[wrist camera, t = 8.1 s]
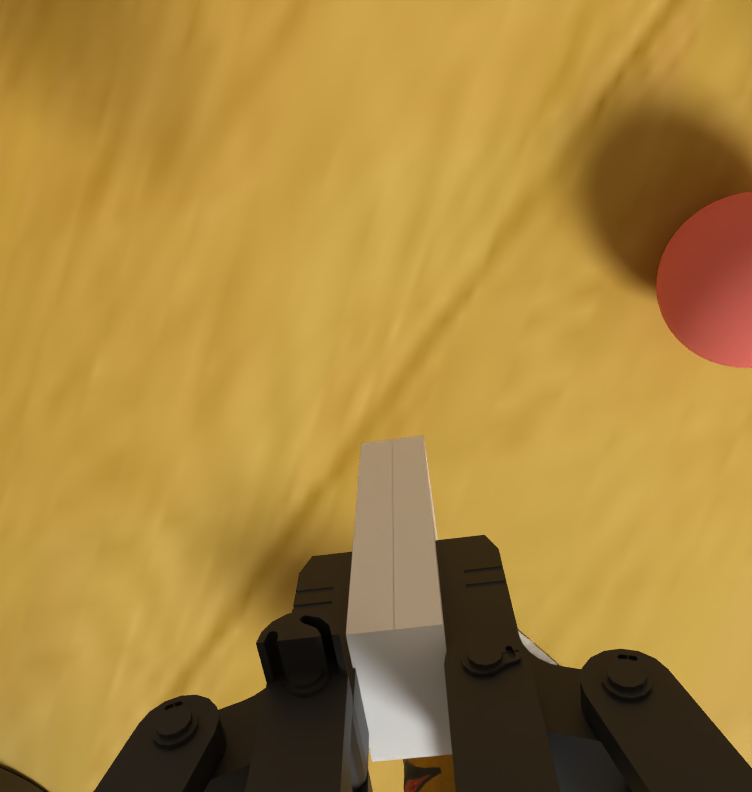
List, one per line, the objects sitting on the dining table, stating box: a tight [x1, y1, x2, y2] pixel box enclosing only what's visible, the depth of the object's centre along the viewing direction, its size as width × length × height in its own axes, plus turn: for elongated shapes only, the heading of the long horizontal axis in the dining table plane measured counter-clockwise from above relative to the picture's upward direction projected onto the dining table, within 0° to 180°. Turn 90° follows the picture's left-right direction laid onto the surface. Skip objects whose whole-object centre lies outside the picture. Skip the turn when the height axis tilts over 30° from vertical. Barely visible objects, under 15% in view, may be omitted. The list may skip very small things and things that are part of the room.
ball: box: [656, 192, 752, 368], centre depth 25 cm, size 6×6×6 cm
